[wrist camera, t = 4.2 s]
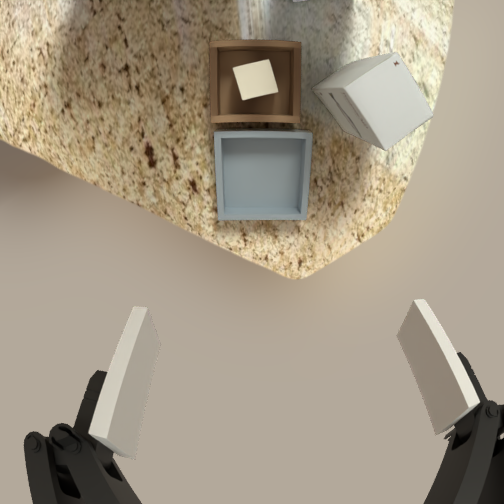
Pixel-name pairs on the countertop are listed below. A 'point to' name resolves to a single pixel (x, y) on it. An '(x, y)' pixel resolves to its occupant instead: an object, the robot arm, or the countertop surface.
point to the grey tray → (262, 173)
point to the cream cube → (255, 79)
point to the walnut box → (262, 107)
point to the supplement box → (375, 99)
